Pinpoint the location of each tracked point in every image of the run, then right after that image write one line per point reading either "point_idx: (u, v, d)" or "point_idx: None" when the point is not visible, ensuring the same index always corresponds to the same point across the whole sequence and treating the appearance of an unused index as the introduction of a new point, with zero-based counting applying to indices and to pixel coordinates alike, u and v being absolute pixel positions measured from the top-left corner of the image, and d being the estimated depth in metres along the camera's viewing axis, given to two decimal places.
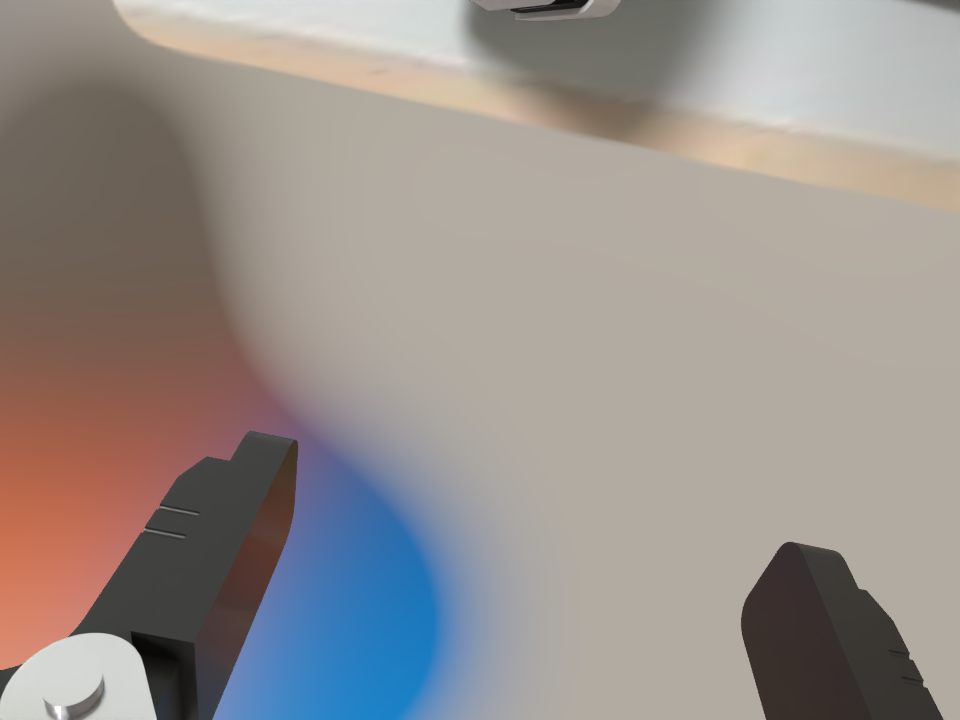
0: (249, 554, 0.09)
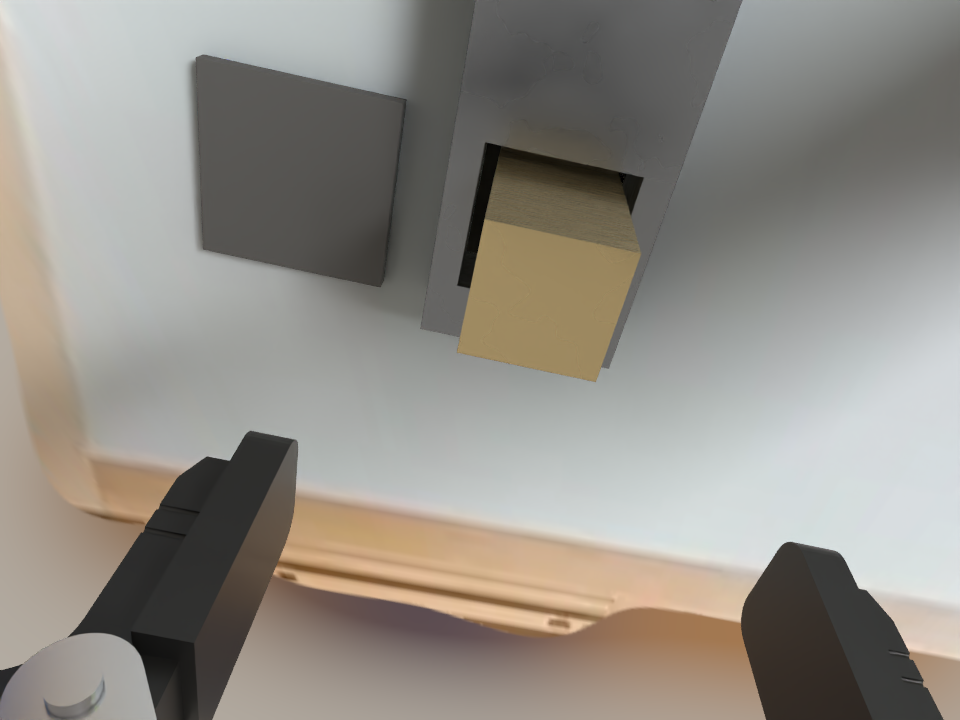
0: (249, 554, 0.09)
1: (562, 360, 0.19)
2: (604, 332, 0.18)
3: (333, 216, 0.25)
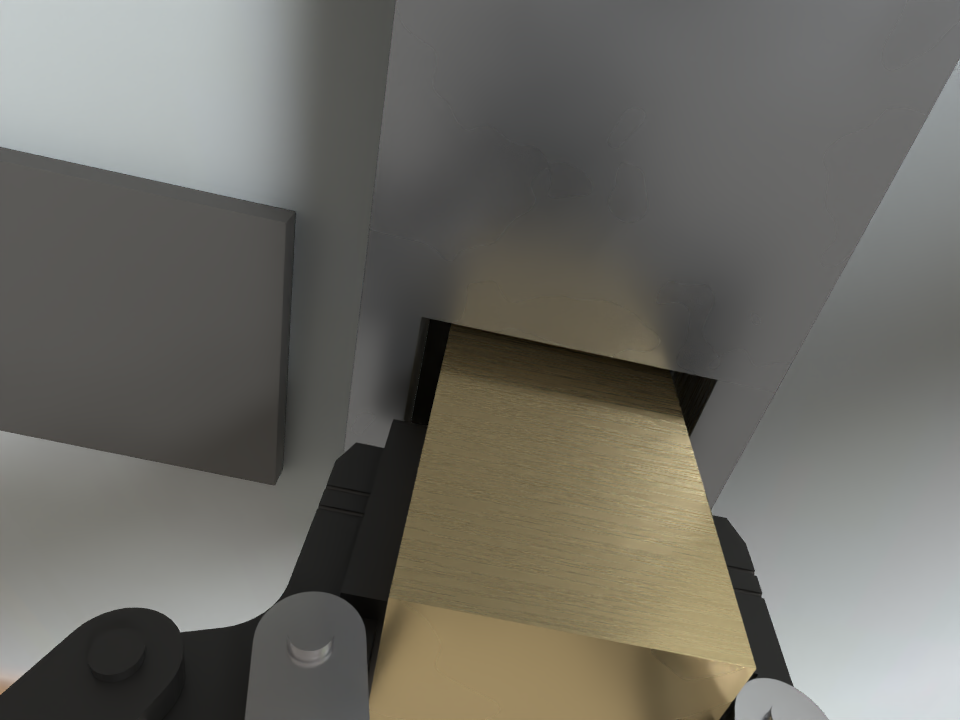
0: None
1: None
2: None
3: (188, 387, 0.15)
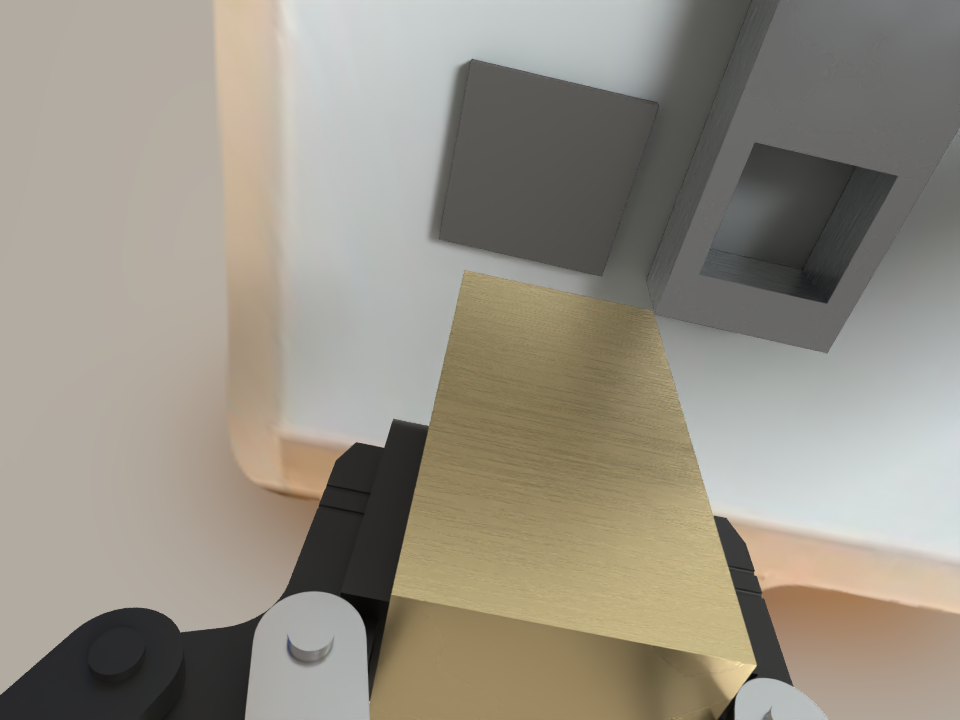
0: None
1: None
2: None
3: (570, 209, 0.27)
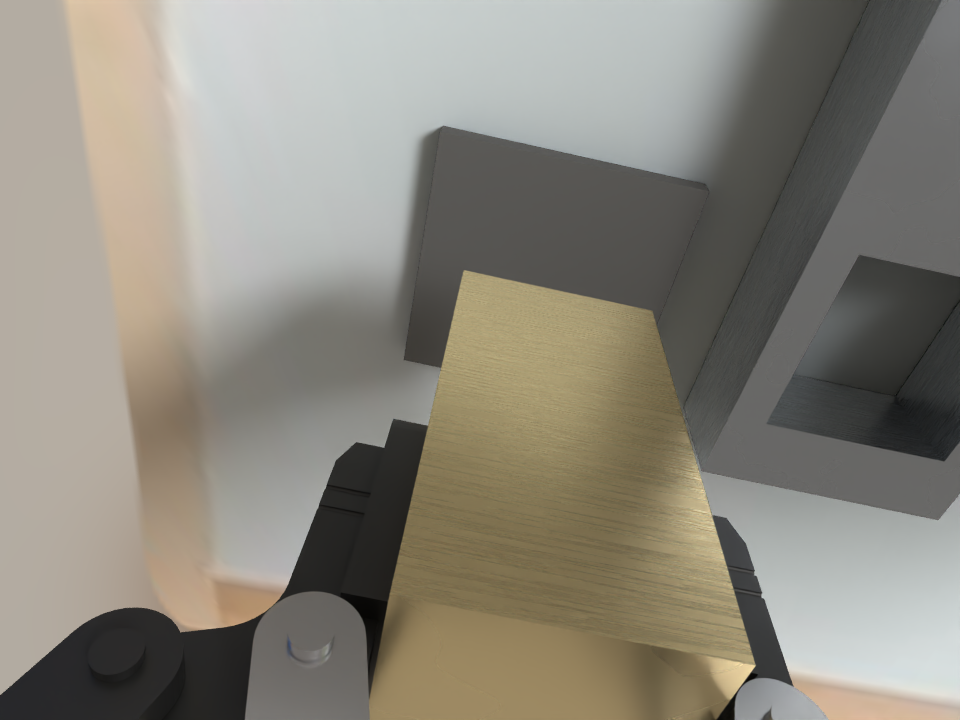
0: None
1: None
2: None
3: None
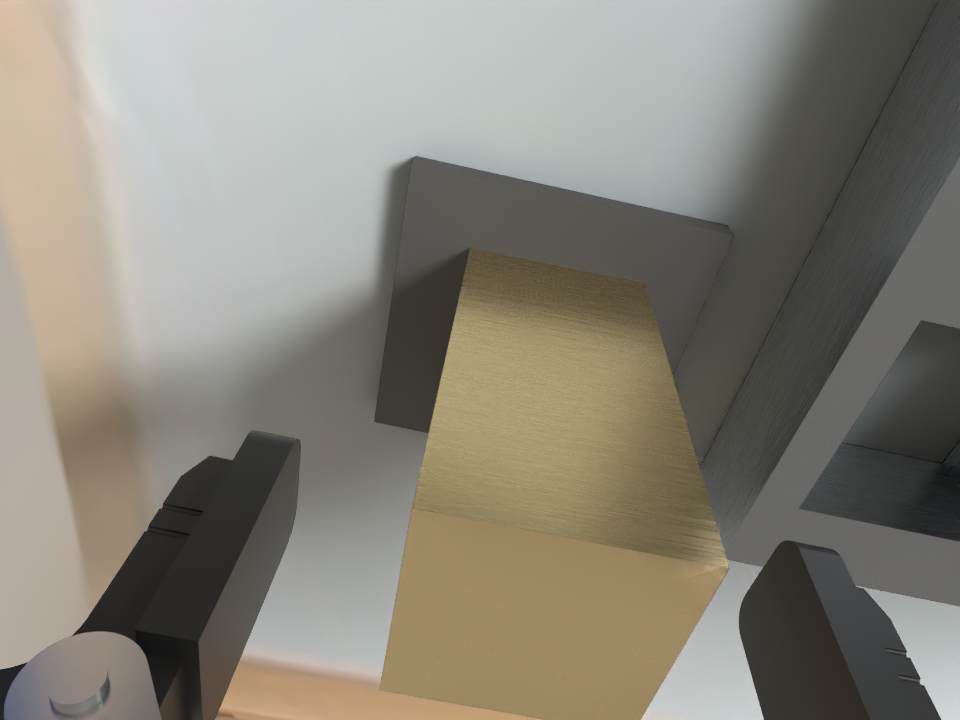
0: (252, 553, 0.09)
1: (572, 707, 0.10)
2: (649, 674, 0.10)
3: None
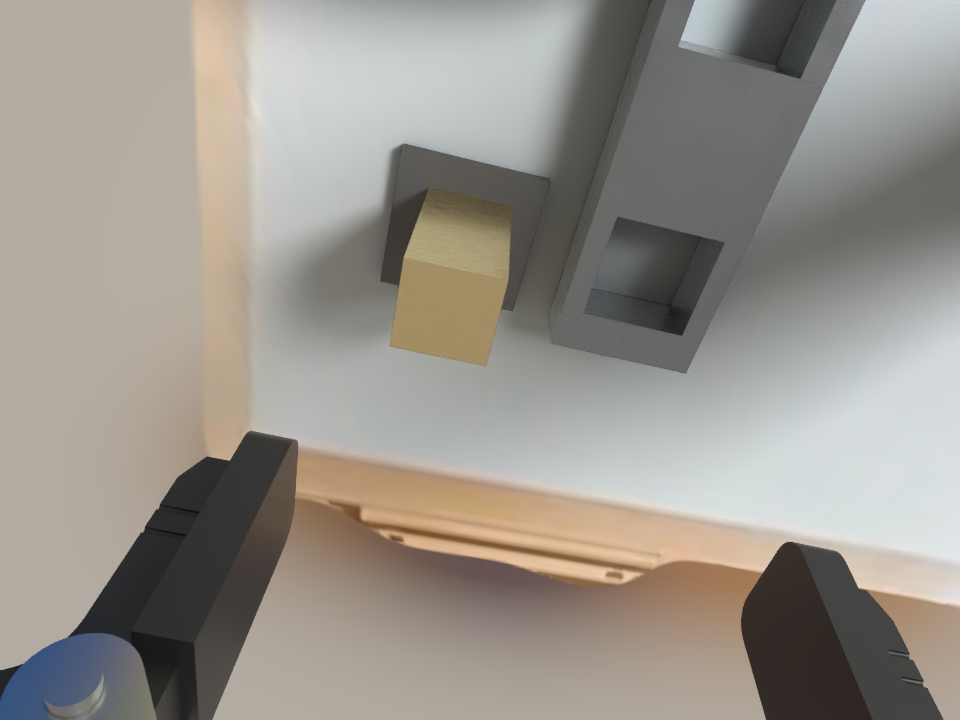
0: (249, 554, 0.09)
1: (462, 351, 0.27)
2: (488, 332, 0.26)
3: None
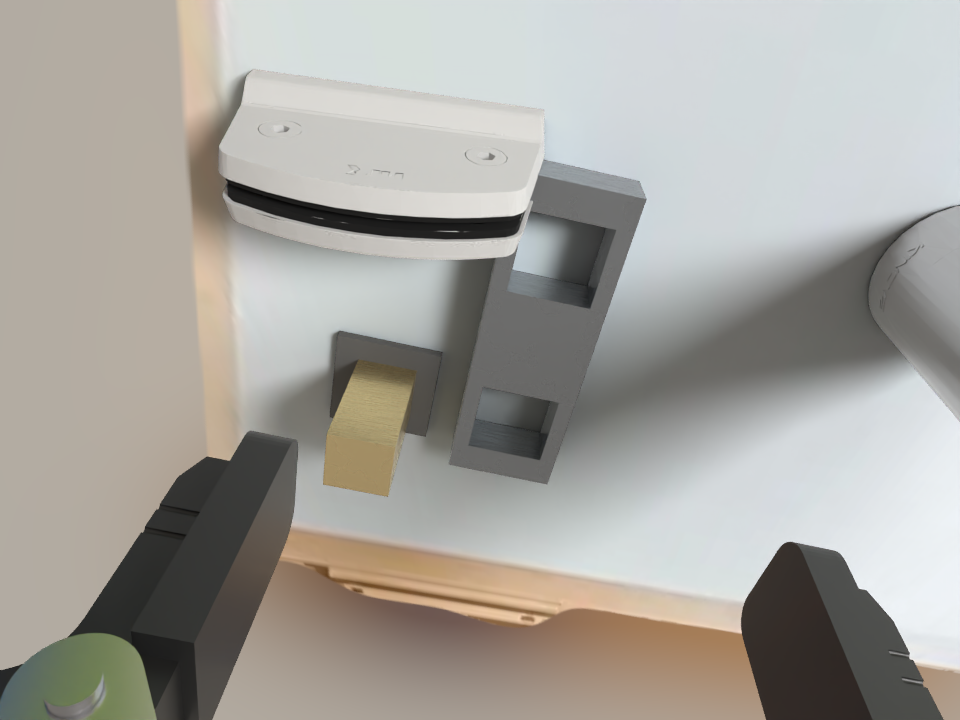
0: (249, 554, 0.09)
1: (371, 488, 0.41)
2: (387, 476, 0.40)
3: None
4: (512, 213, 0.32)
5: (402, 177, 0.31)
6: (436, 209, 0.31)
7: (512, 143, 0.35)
